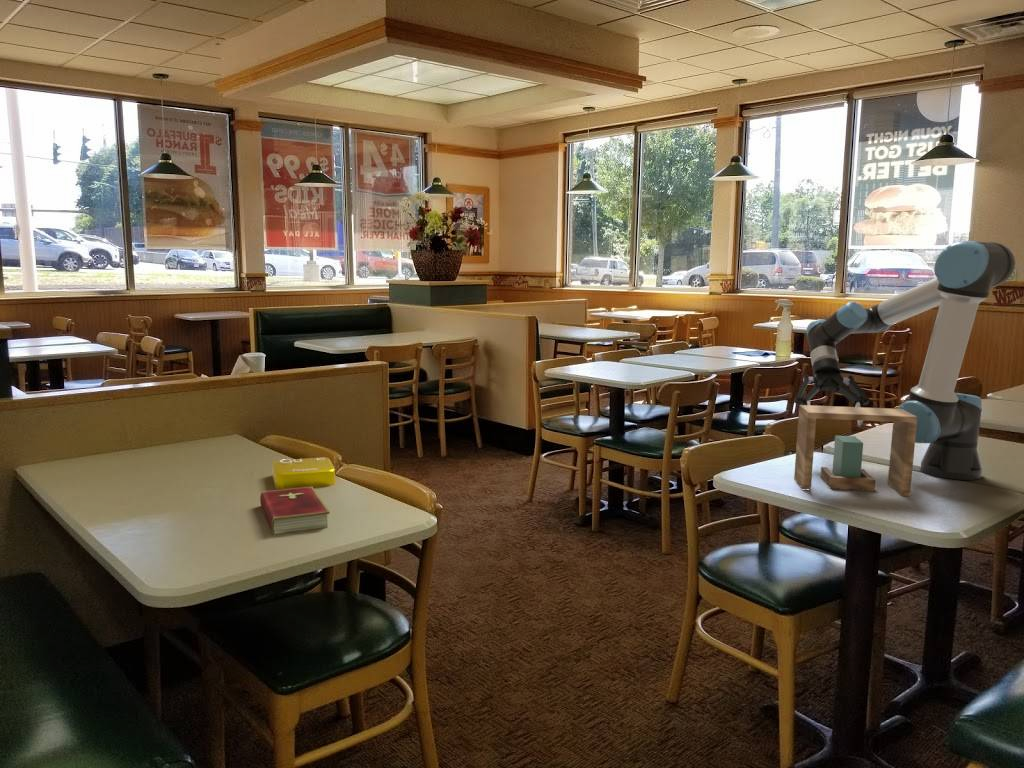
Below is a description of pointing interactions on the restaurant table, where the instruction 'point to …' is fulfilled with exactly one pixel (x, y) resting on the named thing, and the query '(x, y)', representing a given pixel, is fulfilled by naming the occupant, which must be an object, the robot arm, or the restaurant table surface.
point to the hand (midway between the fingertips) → (835, 423)
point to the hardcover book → (293, 509)
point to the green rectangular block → (847, 456)
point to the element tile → (303, 473)
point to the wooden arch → (897, 469)
